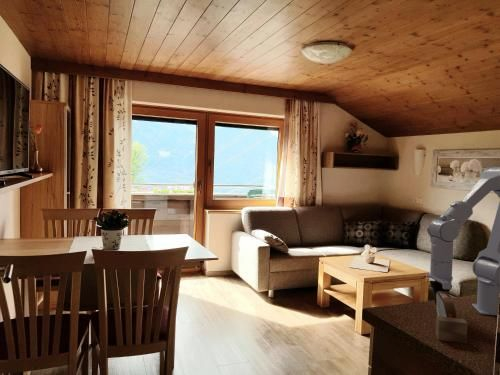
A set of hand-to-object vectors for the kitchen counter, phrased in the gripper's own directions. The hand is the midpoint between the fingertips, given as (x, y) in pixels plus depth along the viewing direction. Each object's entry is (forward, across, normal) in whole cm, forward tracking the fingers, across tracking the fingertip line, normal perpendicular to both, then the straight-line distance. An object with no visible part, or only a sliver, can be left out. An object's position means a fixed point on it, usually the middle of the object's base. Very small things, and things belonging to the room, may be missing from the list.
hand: (439, 306), depth 111 cm
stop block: (+2, +18, -2) cm, 18 cm away
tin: (+3, +8, -1) cm, 9 cm away
